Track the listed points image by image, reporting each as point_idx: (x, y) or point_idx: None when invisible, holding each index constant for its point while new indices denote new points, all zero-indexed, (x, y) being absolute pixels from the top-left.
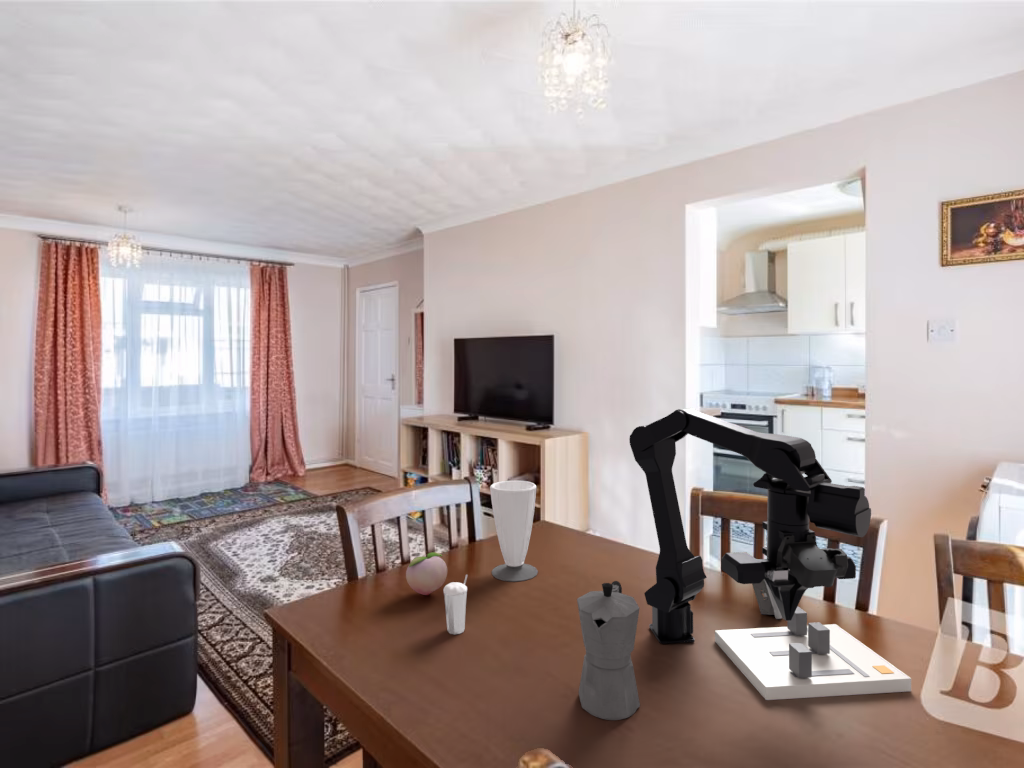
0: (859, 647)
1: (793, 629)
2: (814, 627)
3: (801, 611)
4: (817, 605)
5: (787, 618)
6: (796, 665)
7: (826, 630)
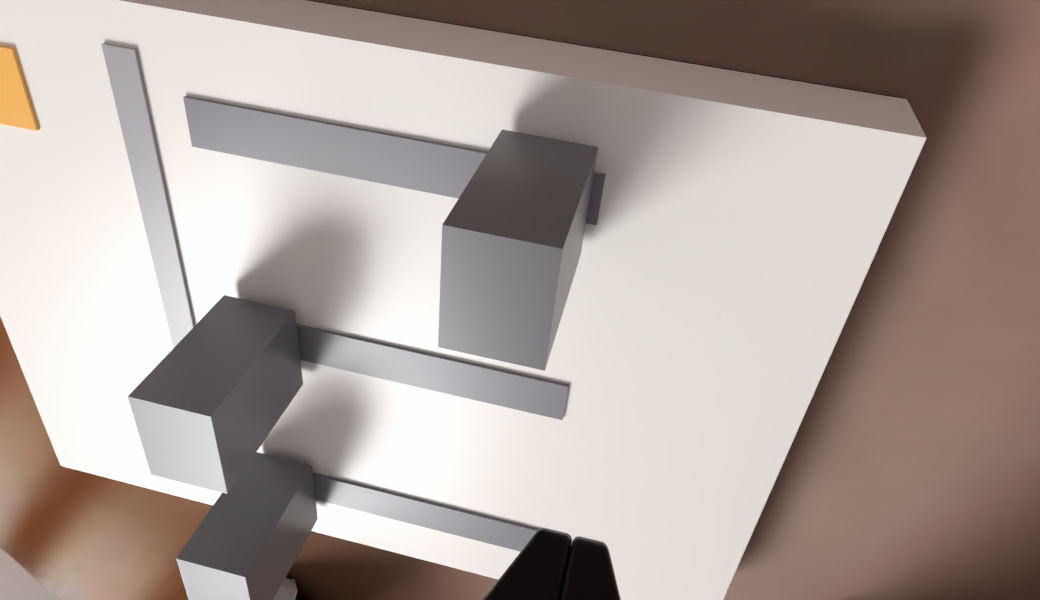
0: (31, 293)
1: (303, 500)
2: (216, 447)
3: (201, 577)
4: (75, 576)
5: (590, 562)
6: (582, 212)
7: (153, 399)
